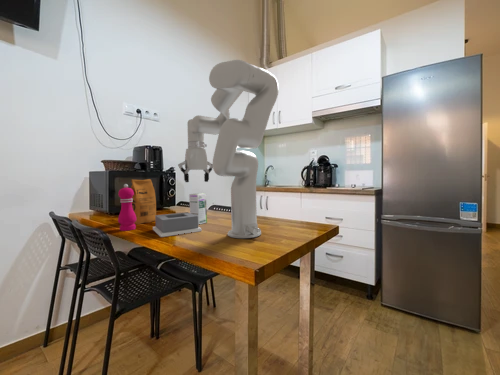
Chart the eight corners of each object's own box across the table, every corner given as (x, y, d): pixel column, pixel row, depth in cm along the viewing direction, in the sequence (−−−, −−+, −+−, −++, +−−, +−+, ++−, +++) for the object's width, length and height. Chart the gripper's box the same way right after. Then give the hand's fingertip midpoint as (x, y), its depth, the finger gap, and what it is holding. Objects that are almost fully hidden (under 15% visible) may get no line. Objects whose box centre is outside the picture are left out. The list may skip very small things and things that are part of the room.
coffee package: (125, 223, 119) (123, 179, 118) (148, 219, 129) (146, 179, 128) (135, 225, 113) (133, 179, 112) (159, 220, 123) (157, 178, 122)
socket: (201, 231, 97) (201, 216, 97) (160, 237, 88) (160, 220, 88) (189, 224, 110) (188, 211, 110) (152, 229, 102) (152, 215, 102)
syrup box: (199, 224, 110) (198, 193, 109) (190, 223, 113) (189, 193, 112) (207, 222, 115) (206, 193, 114) (198, 221, 118) (197, 192, 117)
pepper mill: (140, 227, 107) (138, 183, 106) (130, 231, 100) (128, 184, 99) (125, 227, 108) (123, 183, 107) (114, 231, 101) (112, 184, 100)
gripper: (209, 147, 120) (210, 181, 121) (175, 145, 111) (176, 182, 112) (216, 146, 114) (216, 181, 115) (180, 144, 105) (181, 182, 106)
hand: (196, 181), depth 113 cm, fingers open, 9 cm apart
